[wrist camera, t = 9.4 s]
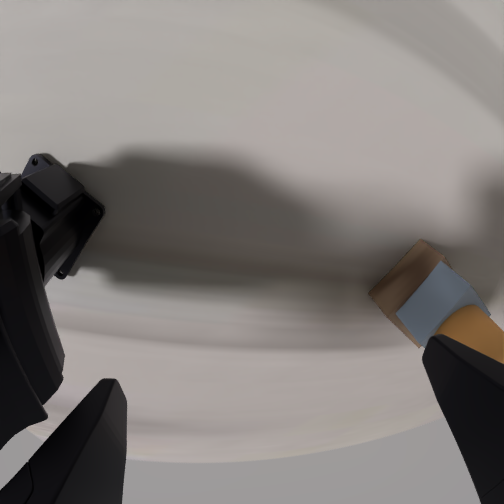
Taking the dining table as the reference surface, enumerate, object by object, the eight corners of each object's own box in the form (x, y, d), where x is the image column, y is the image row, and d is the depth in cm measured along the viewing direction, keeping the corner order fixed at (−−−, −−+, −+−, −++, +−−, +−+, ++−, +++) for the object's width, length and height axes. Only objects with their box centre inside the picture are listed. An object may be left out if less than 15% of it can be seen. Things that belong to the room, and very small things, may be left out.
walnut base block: (400, 324, 26) (419, 348, 23) (367, 291, 24) (386, 317, 20) (445, 277, 24) (468, 297, 21) (418, 237, 22) (444, 256, 19)
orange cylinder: (441, 370, 19) (469, 411, 15) (417, 346, 17) (452, 395, 13) (487, 324, 18) (521, 360, 14) (471, 291, 16) (514, 332, 12)
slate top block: (425, 336, 22) (446, 364, 19) (395, 313, 20) (419, 343, 17) (465, 291, 21) (490, 314, 18) (440, 260, 19) (470, 285, 16)
